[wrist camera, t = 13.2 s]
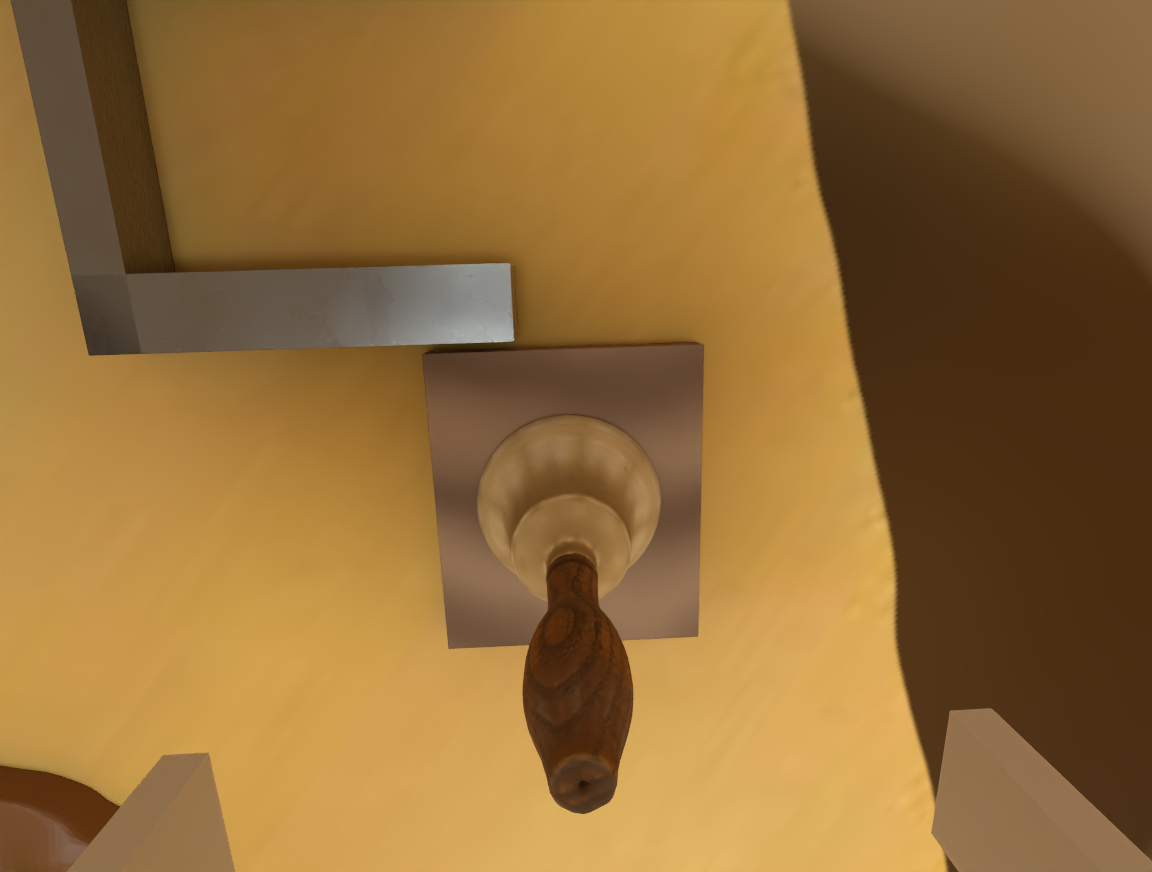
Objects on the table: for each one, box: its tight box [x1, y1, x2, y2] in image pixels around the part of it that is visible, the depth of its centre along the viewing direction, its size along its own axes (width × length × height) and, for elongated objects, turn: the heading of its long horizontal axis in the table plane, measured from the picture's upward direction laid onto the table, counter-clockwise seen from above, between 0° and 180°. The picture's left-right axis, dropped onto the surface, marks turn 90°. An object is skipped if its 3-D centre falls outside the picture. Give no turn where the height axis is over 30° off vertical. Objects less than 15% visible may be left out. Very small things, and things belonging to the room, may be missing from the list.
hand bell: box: [477, 415, 661, 814], centre depth 19 cm, size 8×8×16 cm
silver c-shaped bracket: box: [11, 0, 518, 355], centre depth 22 cm, size 17×16×3 cm
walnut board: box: [422, 342, 704, 649], centre depth 27 cm, size 14×12×2 cm
